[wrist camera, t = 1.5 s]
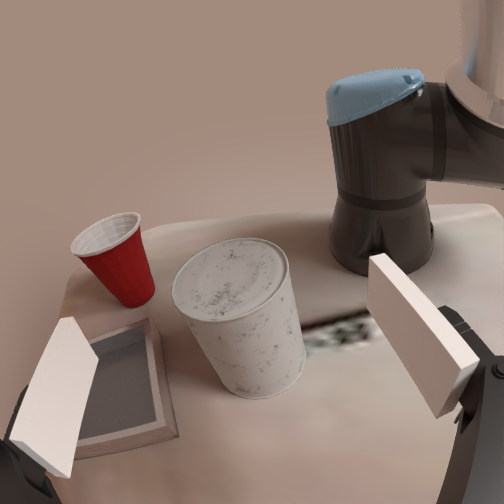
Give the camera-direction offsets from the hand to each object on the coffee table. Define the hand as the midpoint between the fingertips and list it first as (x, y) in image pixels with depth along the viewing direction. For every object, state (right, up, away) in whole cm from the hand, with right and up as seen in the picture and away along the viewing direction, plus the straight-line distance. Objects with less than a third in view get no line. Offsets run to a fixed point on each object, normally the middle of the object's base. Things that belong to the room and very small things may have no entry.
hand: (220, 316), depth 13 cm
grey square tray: (-15, -14, +18) cm, 27 cm away
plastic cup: (-16, -4, +33) cm, 36 cm away
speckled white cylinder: (+2, -9, +19) cm, 21 cm away
